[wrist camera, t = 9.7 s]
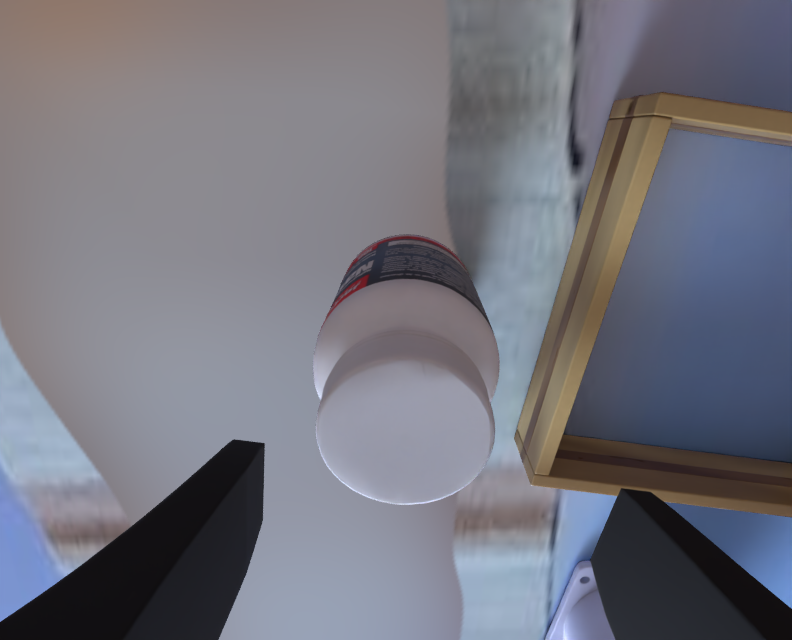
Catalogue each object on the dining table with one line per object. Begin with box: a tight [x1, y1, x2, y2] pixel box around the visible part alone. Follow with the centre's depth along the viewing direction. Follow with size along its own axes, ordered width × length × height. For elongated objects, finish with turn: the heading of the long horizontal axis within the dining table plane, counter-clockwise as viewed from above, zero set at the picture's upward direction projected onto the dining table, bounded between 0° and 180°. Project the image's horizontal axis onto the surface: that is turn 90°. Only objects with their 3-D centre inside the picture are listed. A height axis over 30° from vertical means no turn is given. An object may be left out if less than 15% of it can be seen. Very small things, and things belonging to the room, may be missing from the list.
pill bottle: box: [313, 235, 499, 505], centre depth 14 cm, size 5×5×9 cm
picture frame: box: [514, 92, 792, 517], centre depth 16 cm, size 14×14×3 cm
